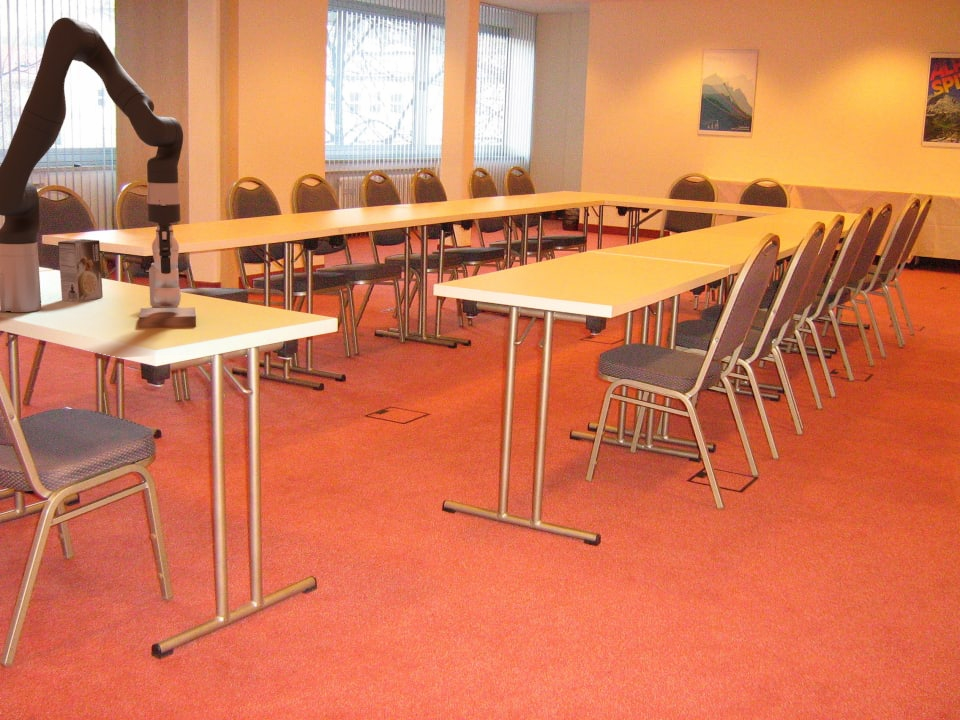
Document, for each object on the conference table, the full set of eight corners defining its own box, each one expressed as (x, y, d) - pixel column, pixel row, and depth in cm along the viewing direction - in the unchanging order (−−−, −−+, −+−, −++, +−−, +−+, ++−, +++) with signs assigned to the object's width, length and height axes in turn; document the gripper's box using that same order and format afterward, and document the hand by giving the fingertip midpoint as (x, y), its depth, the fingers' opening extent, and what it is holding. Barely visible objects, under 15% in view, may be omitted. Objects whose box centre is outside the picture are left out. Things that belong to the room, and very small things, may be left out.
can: (171, 310, 261) (169, 265, 259) (144, 309, 263) (143, 263, 260) (184, 306, 268) (183, 262, 266) (159, 304, 270) (157, 260, 267)
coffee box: (85, 296, 280) (82, 238, 277) (103, 297, 278) (100, 240, 275) (60, 300, 272) (57, 241, 269) (79, 302, 270) (75, 242, 266)
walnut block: (139, 327, 237) (138, 317, 237) (141, 318, 249) (140, 308, 249) (196, 326, 241) (195, 316, 240) (195, 317, 253) (195, 307, 253)
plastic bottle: (155, 309, 240) (152, 225, 236) (152, 304, 246) (149, 223, 242) (183, 308, 243) (180, 225, 238) (179, 303, 249) (176, 223, 244)
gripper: (148, 199, 245) (150, 267, 248) (146, 203, 231) (149, 275, 235) (180, 200, 247) (182, 267, 250) (180, 204, 233) (182, 275, 237)
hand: (166, 271), depth 243 cm, fingers closed on plastic bottle, 6 cm apart
